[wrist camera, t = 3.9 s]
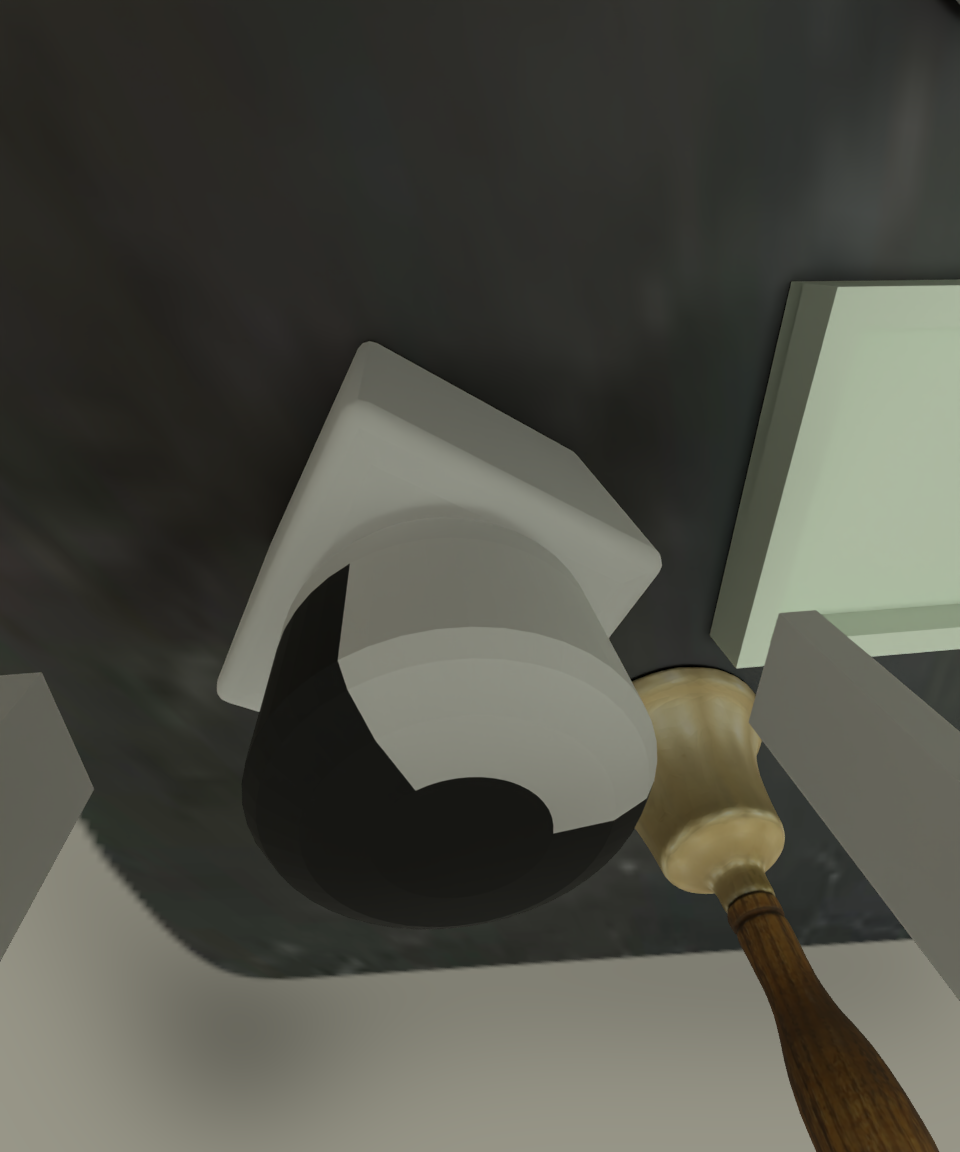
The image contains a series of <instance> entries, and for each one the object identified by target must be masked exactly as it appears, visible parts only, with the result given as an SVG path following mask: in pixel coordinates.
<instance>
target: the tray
mask: <svg viewBox="0 0 960 1152" xmlns="http://www.w3.org/2000/svg"><path fill="white" fill-rule="evenodd" d="M811 610H817V611H818V612H819V613H820V614H821V615H823V616H824V617H825V618H826V619H827V620H828V621H830V622H831V623H832V624H833V625H834V626H835V627H837V628H838V629H839V630H840V631H841V632H843V633H844V634H845V635H846V636H847V637H848V638H850V639H851V640H852V641H853V642H854V643H856V644H857V645H858V646H859V647H860V648H861V649H863V650H864V651H865V652H866V653H867V654H869V655H870V656H871V657H873V656H884V655H896V654H907V653H918V652H930V651H941V650H953V649H960V279H957V280H873V281H791V285H790V290H789V294H788V298H787V303H786V307H785V311H784V316H783V320H782V324H781V329H780V333H779V337H778V342H777V346H776V350H775V355H774V359H773V363H772V368H771V372H770V376H769V381H768V385H767V389H766V394H765V398H764V402H763V407H762V411H761V415H760V420H759V424H758V428H757V433H756V437H755V441H754V446H753V450H752V454H751V459H750V463H749V467H748V472H747V476H746V480H745V485H744V489H743V493H742V498H741V502H740V506H739V511H738V515H737V519H736V524H735V528H734V532H733V537H732V541H731V545H730V549H729V554H728V558H727V562H726V567H725V571H724V575H723V580H722V584H721V588H720V593H719V597H718V601H717V606H716V610H715V614H714V619H713V623H712V627H711V632H710V636H711V638H712V639H713V640H714V641H715V643H716V644H717V645H718V646H719V648H720V649H721V650H722V651H723V653H724V654H725V655H726V656H727V658H728V659H729V660H730V661H731V663H732V664H733V665H734V666H735V668H746V667H758V666H764V665H765V661H766V658H767V654H768V651H769V647H770V643H771V640H772V636H773V633H774V629H775V626H776V622H777V618H778V615H779V613H786V612H798V611H811Z"/></svg>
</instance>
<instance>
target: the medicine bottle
mask: <svg viewBox="0 0 960 1152" xmlns="http://www.w3.org/2000/svg"><path fill="white" fill-rule="evenodd" d="M661 567H662V563H661V557H660V554H659V552H658V551H657V550H656V549H655V548H654V546H653V545H652V544H651V543H650V542H649V540H648V539H647V538H646V537H645V536H644V534H643V533H642V532H641V531H640V530H639V529H638V527H637V526H636V525H635V524H634V523H633V521H632V520H631V519H630V518H629V517H628V515H627V514H626V513H625V512H624V511H623V509H622V508H621V507H620V506H619V505H618V503H617V502H616V501H615V500H614V499H613V498H612V496H611V495H610V494H609V493H608V492H607V490H606V489H605V488H604V487H603V486H602V484H601V483H600V482H599V481H598V480H597V478H596V477H595V476H594V475H593V474H592V473H591V471H590V470H589V469H588V468H587V467H586V465H585V464H584V463H583V462H582V461H581V459H580V458H579V457H578V456H577V455H576V454H575V453H574V452H573V451H571V450H570V449H568V448H566V447H564V446H562V445H561V444H559V443H557V442H555V441H553V440H551V439H550V438H548V437H546V436H544V435H542V434H541V433H539V432H537V431H535V430H533V429H532V428H530V427H528V426H526V425H524V424H523V423H521V422H519V421H517V420H515V419H514V418H512V417H510V416H508V415H506V414H504V413H503V412H501V411H499V410H497V409H495V408H494V407H492V406H490V405H488V404H486V403H485V402H483V401H481V400H479V399H477V398H476V397H474V396H472V395H470V394H468V393H466V392H465V391H463V390H461V389H459V388H457V387H456V386H454V385H452V384H450V383H448V382H447V381H445V380H443V379H441V378H439V377H438V376H436V375H434V374H432V373H430V372H428V371H427V370H425V369H423V368H421V367H419V366H418V365H416V364H414V363H412V362H410V361H409V360H407V359H405V358H403V357H401V356H400V355H398V354H396V353H394V352H392V351H391V350H389V349H387V348H385V347H383V346H381V345H380V344H378V343H375V342H371V341H368V342H365V343H362V344H361V346H360V347H359V348H358V349H357V352H356V354H355V356H354V358H353V361H352V363H351V365H350V367H349V370H348V372H347V374H346V376H345V378H344V381H343V383H342V385H341V387H340V390H339V392H338V394H337V396H336V399H335V401H334V403H333V405H332V408H331V410H330V412H329V414H328V417H327V419H326V421H325V423H324V426H323V428H322V430H321V432H320V434H319V437H318V439H317V441H316V443H315V446H314V448H313V450H312V452H311V455H310V457H309V459H308V461H307V464H306V466H305V468H304V470H303V473H302V475H301V477H300V479H299V481H298V484H297V486H296V488H295V490H294V493H293V495H292V497H291V499H290V502H289V504H288V506H287V508H286V511H285V513H284V515H283V517H282V520H281V522H280V524H279V526H278V529H277V531H276V533H275V535H274V537H273V540H272V542H271V544H270V547H269V549H268V552H267V554H266V557H265V559H264V562H263V565H262V567H261V570H260V572H259V575H258V577H257V580H256V583H255V585H254V588H253V590H252V593H251V595H250V598H249V601H248V603H247V606H246V608H245V611H244V613H243V616H242V618H241V621H240V624H239V626H238V629H237V631H236V634H235V636H234V639H233V642H232V644H231V647H230V649H229V652H228V654H227V657H226V660H225V662H224V665H223V667H222V670H221V672H220V675H219V677H218V680H217V693H218V695H219V696H220V698H221V699H223V700H224V701H226V702H228V703H232V704H235V705H238V706H242V707H245V708H248V709H252V710H255V711H258V712H259V715H258V719H257V723H256V726H255V730H254V733H253V737H252V741H251V744H250V748H249V752H248V755H247V759H246V763H245V768H244V774H243V779H242V805H243V809H244V813H245V817H246V821H247V825H248V827H249V829H250V831H251V834H252V836H253V838H254V840H255V842H256V844H257V845H258V847H259V848H260V849H261V851H262V852H263V853H264V855H265V856H266V858H267V859H268V860H269V862H270V863H271V864H272V865H273V867H274V868H275V869H276V870H277V872H278V873H279V874H280V875H281V876H282V877H283V878H284V879H285V880H286V881H287V882H288V883H289V884H290V885H291V886H292V887H293V888H294V889H296V890H297V891H299V892H300V893H301V894H303V895H304V896H306V897H307V898H308V899H310V900H311V901H313V902H315V903H317V904H319V905H321V906H323V907H325V908H326V909H328V910H330V911H333V912H336V913H338V914H341V915H343V916H346V917H349V918H352V919H355V920H359V921H363V922H367V923H370V924H376V925H382V926H388V927H394V928H407V929H446V928H457V927H466V926H472V925H478V924H483V923H488V922H492V921H496V920H500V919H504V918H508V917H511V916H514V915H517V914H520V913H523V912H526V911H529V910H532V909H534V908H536V907H538V906H541V905H543V904H545V903H548V902H550V901H552V900H554V899H556V898H558V897H559V896H561V895H563V894H565V893H567V892H568V891H570V890H572V889H574V888H575V887H576V886H578V885H579V884H581V883H582V882H584V881H585V880H587V879H588V878H590V877H591V876H592V875H593V874H594V873H596V872H597V871H598V870H599V869H600V868H602V867H603V866H604V865H605V864H606V863H607V862H608V861H609V860H610V859H611V858H612V857H613V856H614V855H615V854H616V853H617V852H618V851H619V850H620V848H621V847H622V846H623V844H624V843H625V842H626V840H627V839H628V837H629V836H630V835H631V833H632V832H633V830H634V828H635V826H636V824H637V822H638V820H639V818H640V817H641V814H642V812H643V810H644V807H645V805H646V802H647V800H648V797H649V794H650V791H651V789H652V786H653V783H654V779H655V773H656V766H657V741H656V737H655V733H654V728H653V724H652V721H651V719H650V717H649V714H648V712H647V710H646V708H645V706H644V704H643V702H642V700H641V698H640V696H639V694H638V692H637V691H636V689H635V687H634V685H633V683H632V681H631V679H630V678H629V676H628V674H627V672H626V670H625V668H624V666H623V665H622V663H621V661H620V659H619V657H618V655H617V653H616V652H615V650H614V648H613V646H612V644H611V642H610V640H609V637H610V636H611V634H612V633H613V632H614V630H615V629H616V628H617V627H618V625H619V624H620V623H621V621H622V620H623V619H624V617H625V616H626V615H627V614H628V612H629V611H630V610H631V608H632V607H633V606H634V604H635V603H636V602H637V601H638V599H639V598H640V597H641V595H642V594H643V593H644V591H645V590H646V589H647V588H648V586H649V585H650V584H651V582H652V581H653V580H654V578H655V577H656V576H657V575H658V573H659V571H660V569H661Z"/></svg>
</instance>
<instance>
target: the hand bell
mask: <svg viewBox="0 0 960 1152" xmlns="http://www.w3.org/2000/svg"><path fill="white" fill-rule="evenodd" d="M632 683H633V685H634V687H635V689H636V691H637V692H638V694H639V696H640V698H641V700H642V702H643V704H644V706H645V708H646V710H647V712H648V714H649V717H650V719H651V721H652V724H653V728H654V733H655V737H656V741H657V766H656V773H655V779H654V783H653V786H652V789H651V791H650V794H649V797H648V800H647V802H646V805H645V807H644V810H643V812H642V814H641V817H640V818H639V820H638V822H637V824H636V826H635V829H636V830H637V831H638V833H639V834H640V836H641V837H642V839H643V840H644V842H645V843H646V845H647V846H648V848H649V849H650V851H651V852H652V854H653V856H654V857H655V859H656V861H657V863H658V865H659V866H660V868H661V870H662V872H663V874H664V875H665V877H666V878H667V879H668V880H669V881H670V882H671V883H672V884H674V885H675V886H677V887H678V888H680V889H682V890H685V891H688V892H692V893H702V894H712V893H715V894H716V895H717V897H718V898H719V900H720V902H721V904H722V906H723V908H724V910H725V911H726V912H727V913H728V916H727V917H728V922H729V924H730V926H731V928H732V929H733V931H734V933H735V934H737V936H738V941H739V943H740V945H741V947H742V949H743V950H744V952H745V954H746V956H747V958H748V960H749V962H750V964H751V966H752V968H753V969H754V972H755V974H756V975H757V977H758V979H759V981H760V983H761V985H762V987H763V989H764V991H765V994H766V996H767V998H768V1001H769V1003H770V1006H771V1009H772V1012H773V1014H774V1018H775V1021H776V1025H777V1029H778V1033H779V1038H780V1042H781V1047H782V1052H783V1056H784V1061H785V1066H786V1069H787V1073H788V1077H789V1081H790V1084H791V1087H792V1090H793V1093H794V1096H795V1099H796V1102H797V1105H798V1108H799V1111H800V1114H801V1116H802V1119H803V1121H804V1124H805V1126H806V1129H807V1131H808V1133H809V1136H810V1138H811V1140H812V1143H813V1145H814V1147H815V1149H816V1152H939V1151H938V1148H937V1146H936V1144H935V1142H934V1140H933V1138H932V1137H931V1135H930V1133H929V1132H928V1130H927V1128H926V1126H925V1124H924V1123H923V1121H922V1119H921V1118H920V1116H919V1115H918V1113H917V1111H916V1110H915V1108H914V1106H913V1105H912V1103H911V1101H910V1100H909V1098H908V1096H907V1095H906V1093H905V1092H904V1090H903V1089H902V1087H901V1086H900V1084H899V1083H898V1081H897V1080H896V1078H895V1077H894V1075H893V1074H892V1072H891V1071H890V1069H889V1068H888V1066H887V1065H886V1064H885V1062H884V1061H883V1059H881V1057H880V1055H879V1054H878V1053H877V1051H876V1050H875V1049H874V1047H873V1046H872V1045H871V1044H870V1042H869V1041H868V1040H867V1039H866V1038H865V1036H864V1035H863V1034H862V1033H861V1032H860V1031H859V1030H858V1029H857V1027H856V1026H855V1025H854V1024H853V1023H852V1022H851V1021H850V1020H849V1019H848V1018H847V1016H845V1014H844V1013H843V1012H842V1011H841V1010H840V1009H839V1008H838V1006H837V1005H836V1004H835V1003H834V1001H833V1000H832V998H831V997H830V996H829V994H828V993H827V991H826V990H825V989H824V987H823V986H822V984H821V983H820V981H819V980H818V978H817V976H816V975H815V973H814V971H813V969H812V967H811V965H810V964H809V961H808V960H807V958H806V956H805V954H804V952H803V950H802V948H801V946H800V944H799V942H798V940H797V938H796V936H795V934H794V932H793V930H792V928H791V926H790V924H789V922H788V921H787V919H786V918H785V917H784V912H783V909H782V907H781V905H780V903H779V902H778V900H777V898H776V897H775V894H774V891H773V888H772V887H771V885H770V883H769V881H768V880H767V877H766V875H765V872H766V871H767V870H768V869H769V868H770V867H771V866H772V865H773V864H774V863H775V862H776V860H777V859H778V857H779V856H780V854H781V852H782V850H783V846H784V841H785V834H784V829H783V825H782V823H781V821H780V819H779V817H778V815H777V813H776V811H775V809H774V807H773V805H772V803H771V801H770V799H769V796H768V794H767V792H766V790H765V787H764V785H763V782H762V780H761V777H760V774H759V770H758V765H757V758H756V755H757V753H758V751H759V748H760V745H761V741H762V740H761V738H760V737H759V736H758V734H757V733H756V732H755V730H754V729H753V728H752V726H751V725H750V724H749V718H750V715H751V711H752V708H753V704H754V700H755V697H756V695H755V694H754V692H753V691H752V690H751V688H750V687H749V686H748V685H747V684H746V683H745V682H743V681H742V680H740V679H739V678H738V677H736V676H734V675H731V674H729V673H727V672H725V671H721V670H718V669H713V668H705V667H678V668H672V669H667V670H664V671H659V672H656V673H652V674H649V675H647V676H644V677H642V678H639V679H636V680H634V681H632Z"/></svg>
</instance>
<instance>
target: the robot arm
mask: <svg viewBox="0 0 960 1152" xmlns="http://www.w3.org/2000/svg"><path fill="white" fill-rule="evenodd" d="M749 724H750V725H751V726H752V728H753V729H754V730H755V732H756V733H757V734H758V736H759V737H760V738H761V740H762V741H763V742H764V743H765V745H766V746H767V747H768V749H769V750H770V751H771V753H772V754H773V755H774V757H775V758H776V759H777V761H778V762H779V763H780V765H781V766H782V767H783V769H784V770H785V771H786V773H787V774H788V775H789V776H790V778H791V779H792V780H793V782H794V783H795V784H796V786H797V787H798V788H799V790H800V791H801V792H802V794H803V795H804V796H805V798H806V799H807V800H808V802H809V803H810V804H811V805H812V807H813V808H814V809H815V811H816V812H817V813H818V815H819V816H820V817H821V819H822V820H823V821H824V823H825V824H826V825H827V827H828V828H829V829H830V831H831V832H832V833H833V835H834V836H835V837H836V838H837V840H838V841H839V842H840V844H841V845H842V846H843V848H844V849H845V850H846V852H847V853H848V854H849V856H850V857H851V858H852V860H853V861H854V862H855V864H856V865H857V866H858V867H859V869H860V870H861V871H862V873H863V874H864V875H865V877H866V878H867V879H868V881H869V882H870V883H871V885H872V886H873V887H874V889H875V890H876V891H877V893H878V894H879V895H880V897H881V898H882V899H883V900H884V902H885V903H886V904H887V906H888V907H889V908H890V910H891V911H892V912H893V914H894V915H895V916H896V918H897V919H898V920H899V922H900V923H901V924H902V926H903V927H904V928H905V929H906V931H907V932H908V933H909V935H910V936H911V937H912V939H913V940H914V941H915V943H916V944H917V945H918V946H919V948H920V949H921V951H922V952H923V953H924V955H925V956H926V957H927V958H928V960H929V961H930V962H931V964H932V965H933V966H934V968H935V969H936V970H937V971H938V973H939V974H940V976H941V977H942V978H943V980H944V981H945V982H946V983H947V985H948V986H949V988H950V989H951V990H952V991H953V993H954V994H955V995H956V997H957V998H958V999H959V1001H960V732H959V731H958V730H957V729H956V728H955V727H953V726H952V725H951V724H950V723H949V722H948V721H946V720H945V719H944V718H943V717H942V716H940V715H939V714H938V713H937V712H936V711H935V710H933V709H932V708H931V707H930V706H929V705H927V704H926V703H925V702H924V701H923V700H922V699H920V698H919V697H918V696H917V695H916V694H914V693H913V692H912V691H911V690H910V689H909V688H907V687H906V686H905V685H904V684H903V683H902V682H900V681H899V680H898V679H897V678H896V677H894V676H893V675H892V674H891V673H890V672H889V671H887V670H886V669H885V668H884V667H883V666H881V665H880V664H879V663H878V662H877V661H876V660H874V659H873V658H872V657H871V656H870V655H869V654H867V653H866V652H865V651H864V650H863V649H861V648H860V647H859V646H858V645H857V644H856V643H854V642H853V641H852V640H851V639H850V638H848V637H847V636H846V635H845V634H844V633H843V632H841V631H840V630H839V629H838V628H837V627H835V626H834V625H833V624H832V623H831V622H830V621H828V620H827V619H826V618H825V617H824V616H823V615H821V614H820V613H819V612H818V611H817V610H811V611H798V612H786V613H779V615H778V618H777V622H776V626H775V629H774V633H773V636H772V640H771V643H770V647H769V651H768V654H767V658H766V661H765V665H764V668H763V672H762V675H761V679H760V683H759V686H758V690H757V693H756V697H755V700H754V704H753V708H752V711H751V715H750V718H749ZM93 790H94V788H93V786H92V783H91V781H90V779H89V777H88V774H87V772H86V770H85V768H84V765H83V763H82V761H81V759H80V757H79V754H78V752H77V750H76V748H75V745H74V743H73V741H72V739H71V737H70V734H69V732H68V730H67V728H66V725H65V723H64V721H63V719H62V717H61V714H60V712H59V710H58V708H57V705H56V703H55V701H54V699H53V697H52V694H51V692H50V690H49V688H48V685H47V683H46V681H45V679H44V677H43V674H42V672H39V673H26V674H14V675H1V676H0V961H1V959H2V957H3V955H4V954H5V952H6V949H7V948H8V946H9V944H10V943H11V941H12V939H13V937H14V935H15V933H16V932H17V930H18V928H19V926H20V924H21V922H22V921H23V919H24V917H25V915H26V913H27V911H28V909H29V908H30V906H31V904H32V902H33V900H34V898H35V896H36V895H37V892H38V891H39V889H40V887H41V886H42V884H43V882H44V880H45V878H46V876H47V874H48V873H49V871H50V869H51V867H52V865H53V864H54V862H55V860H56V858H57V856H58V854H59V853H60V851H61V849H62V847H63V845H64V843H65V842H66V840H67V838H68V836H69V834H70V832H71V830H72V829H73V827H74V825H75V823H76V821H77V819H78V818H79V816H80V814H81V812H82V810H83V808H84V807H85V805H86V803H87V801H88V799H89V797H90V796H91V794H92V792H93Z"/></svg>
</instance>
